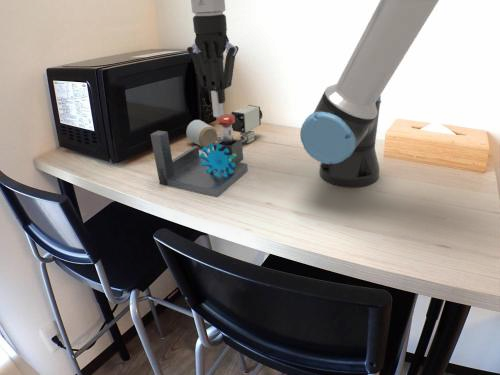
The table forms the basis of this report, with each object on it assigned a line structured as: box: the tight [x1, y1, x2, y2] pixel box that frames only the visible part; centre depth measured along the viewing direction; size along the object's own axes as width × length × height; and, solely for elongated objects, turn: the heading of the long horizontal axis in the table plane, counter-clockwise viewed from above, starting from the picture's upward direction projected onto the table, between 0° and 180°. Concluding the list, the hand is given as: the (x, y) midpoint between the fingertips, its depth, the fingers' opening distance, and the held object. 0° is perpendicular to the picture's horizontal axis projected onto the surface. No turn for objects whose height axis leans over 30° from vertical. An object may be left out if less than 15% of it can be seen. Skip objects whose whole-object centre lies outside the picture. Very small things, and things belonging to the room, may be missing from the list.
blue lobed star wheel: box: [199, 143, 236, 178], centre depth 97 cm, size 11×6×10 cm
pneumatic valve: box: [230, 104, 263, 145], centre depth 120 cm, size 6×12×12 cm, turn 142°
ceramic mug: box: [185, 119, 222, 148], centre depth 121 cm, size 11×8×8 cm
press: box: [150, 130, 249, 198], centre depth 100 cm, size 18×22×14 cm
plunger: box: [216, 113, 235, 146], centre depth 105 cm, size 5×5×9 cm
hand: (218, 115), depth 95 cm, fingers closed
